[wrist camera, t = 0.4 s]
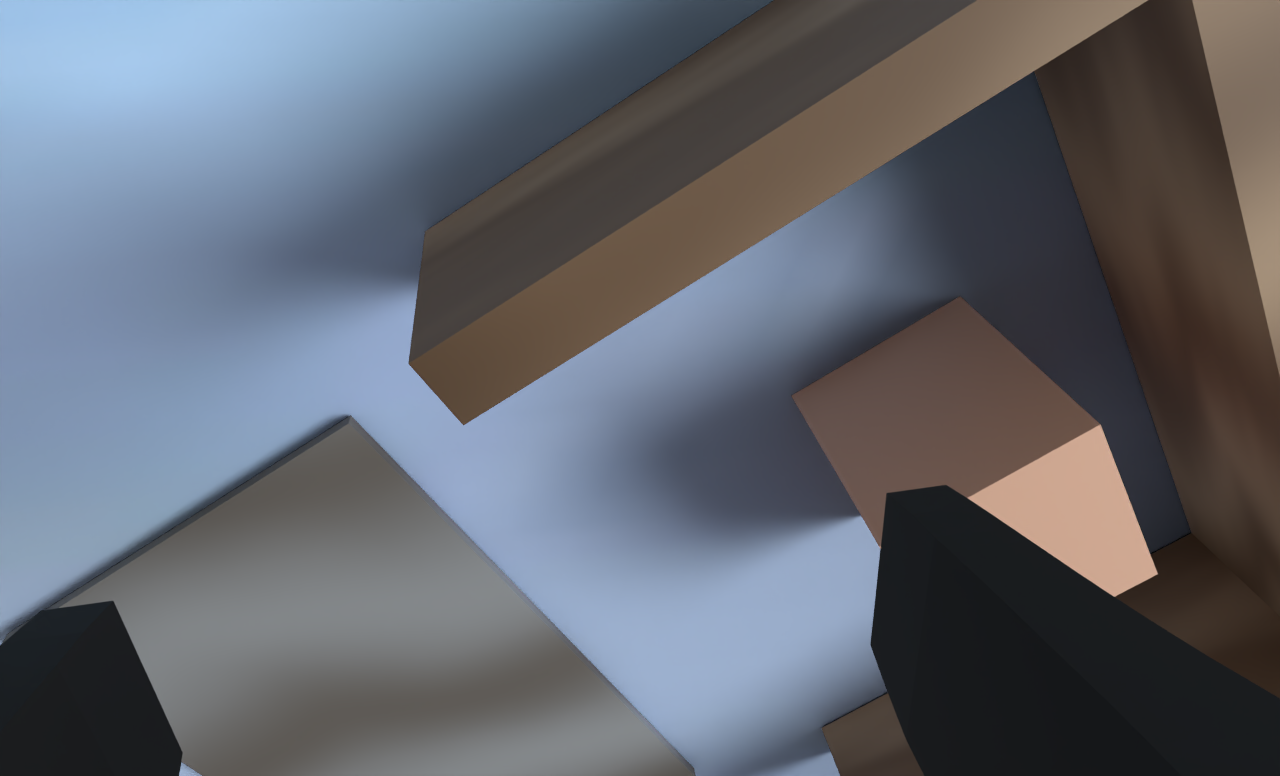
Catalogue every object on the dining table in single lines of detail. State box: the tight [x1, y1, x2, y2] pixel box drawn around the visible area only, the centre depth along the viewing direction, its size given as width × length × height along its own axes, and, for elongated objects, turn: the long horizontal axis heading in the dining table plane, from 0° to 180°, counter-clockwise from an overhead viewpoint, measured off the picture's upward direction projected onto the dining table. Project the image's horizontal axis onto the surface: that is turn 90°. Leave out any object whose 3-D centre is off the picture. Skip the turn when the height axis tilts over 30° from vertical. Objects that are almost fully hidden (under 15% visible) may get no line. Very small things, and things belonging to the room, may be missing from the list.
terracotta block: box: [792, 296, 1158, 597], centre depth 18 cm, size 4×4×5 cm
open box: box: [2, 0, 1280, 776], centre depth 19 cm, size 18×24×5 cm
